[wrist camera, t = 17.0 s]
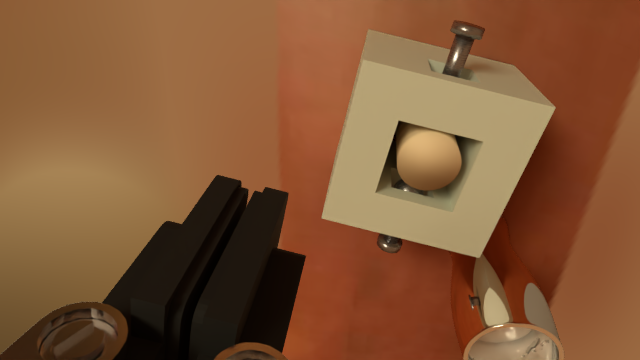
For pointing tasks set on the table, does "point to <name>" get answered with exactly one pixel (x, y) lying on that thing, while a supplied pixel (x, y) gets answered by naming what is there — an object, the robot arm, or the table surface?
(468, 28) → the plunger
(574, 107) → the table surface
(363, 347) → the table surface
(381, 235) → the plunger
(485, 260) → the beer glass
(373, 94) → the socket
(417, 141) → the peg
